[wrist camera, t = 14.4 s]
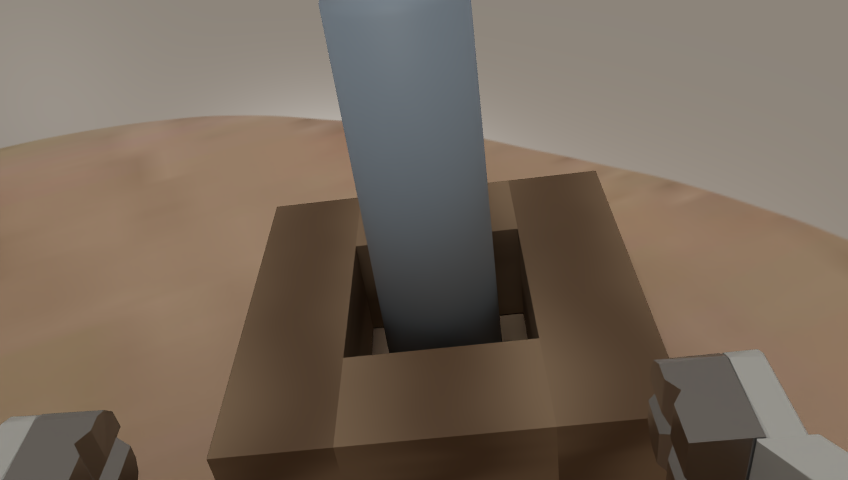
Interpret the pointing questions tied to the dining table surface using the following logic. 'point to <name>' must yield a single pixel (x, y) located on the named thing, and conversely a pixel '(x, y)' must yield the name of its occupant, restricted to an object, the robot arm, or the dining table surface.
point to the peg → (418, 165)
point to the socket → (446, 356)
